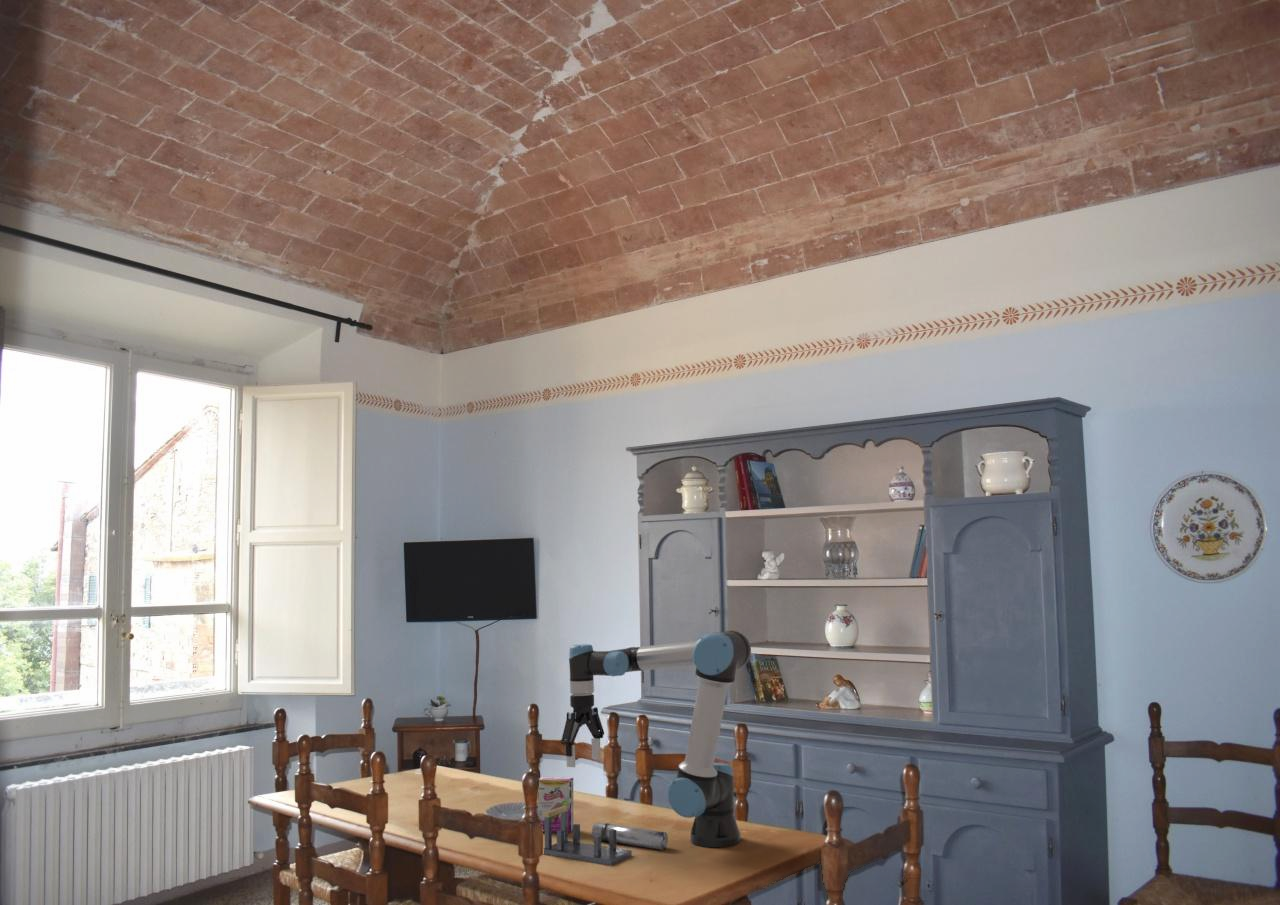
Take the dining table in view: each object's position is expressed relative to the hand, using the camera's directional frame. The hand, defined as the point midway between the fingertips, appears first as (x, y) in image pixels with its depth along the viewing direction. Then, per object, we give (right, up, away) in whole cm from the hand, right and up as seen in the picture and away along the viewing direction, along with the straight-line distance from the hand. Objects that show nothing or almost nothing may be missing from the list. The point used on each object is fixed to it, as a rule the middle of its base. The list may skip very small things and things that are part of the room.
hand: (583, 763), depth 319 cm
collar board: (+2, -20, -23) cm, 30 cm away
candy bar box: (-9, -23, +5) cm, 25 cm away
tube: (+14, -21, -13) cm, 28 cm away
